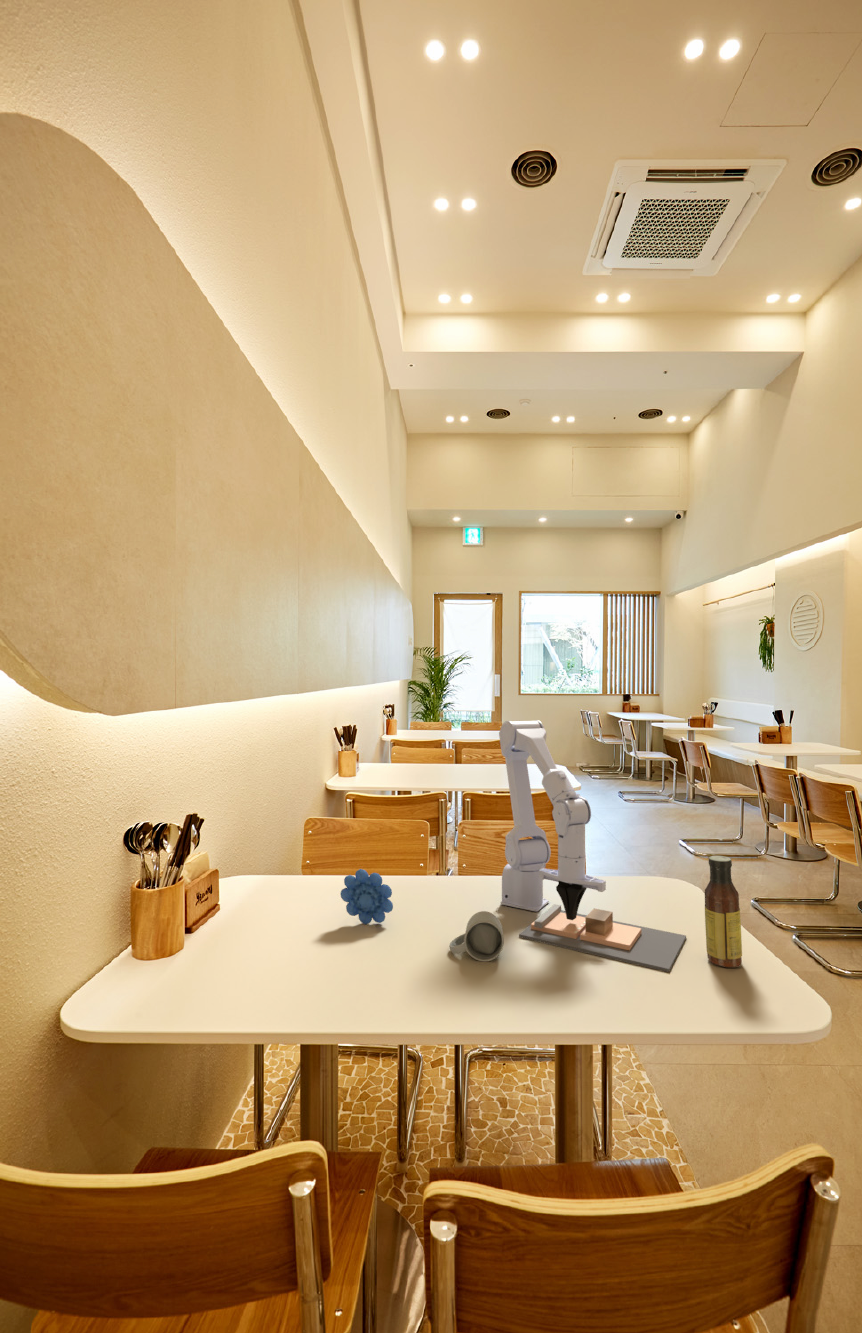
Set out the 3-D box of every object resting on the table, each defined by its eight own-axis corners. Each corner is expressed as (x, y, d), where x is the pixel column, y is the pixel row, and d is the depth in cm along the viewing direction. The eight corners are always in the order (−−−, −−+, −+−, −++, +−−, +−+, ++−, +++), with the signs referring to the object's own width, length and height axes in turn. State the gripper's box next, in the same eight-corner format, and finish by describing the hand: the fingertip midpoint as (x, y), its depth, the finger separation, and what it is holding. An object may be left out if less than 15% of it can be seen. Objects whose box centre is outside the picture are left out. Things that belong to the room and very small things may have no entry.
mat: (519, 937, 132) (519, 934, 132) (549, 910, 147) (549, 907, 147) (669, 972, 116) (669, 969, 116) (686, 938, 132) (686, 935, 132)
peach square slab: (580, 939, 129) (580, 919, 129) (594, 923, 138) (594, 905, 138) (629, 950, 124) (629, 930, 124) (641, 933, 133) (641, 914, 133)
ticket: (529, 930, 134) (529, 920, 134) (549, 912, 144) (549, 903, 144) (574, 940, 129) (574, 929, 129) (592, 921, 139) (592, 911, 139)
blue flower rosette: (337, 931, 134) (338, 875, 135) (341, 919, 141) (342, 865, 141) (392, 931, 135) (392, 875, 135) (393, 919, 141) (393, 866, 142)
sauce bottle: (739, 957, 123) (739, 855, 123) (744, 971, 117) (743, 864, 117) (703, 952, 125) (703, 852, 125) (706, 966, 119) (705, 860, 119)
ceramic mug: (502, 944, 128) (501, 906, 128) (504, 962, 120) (503, 922, 120) (450, 943, 129) (450, 906, 129) (448, 961, 121) (448, 921, 121)
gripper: (611, 856, 135) (611, 920, 134) (548, 845, 143) (548, 905, 143) (598, 864, 129) (598, 930, 129) (534, 852, 138) (534, 914, 137)
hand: (571, 918), depth 135 cm, fingers closed
